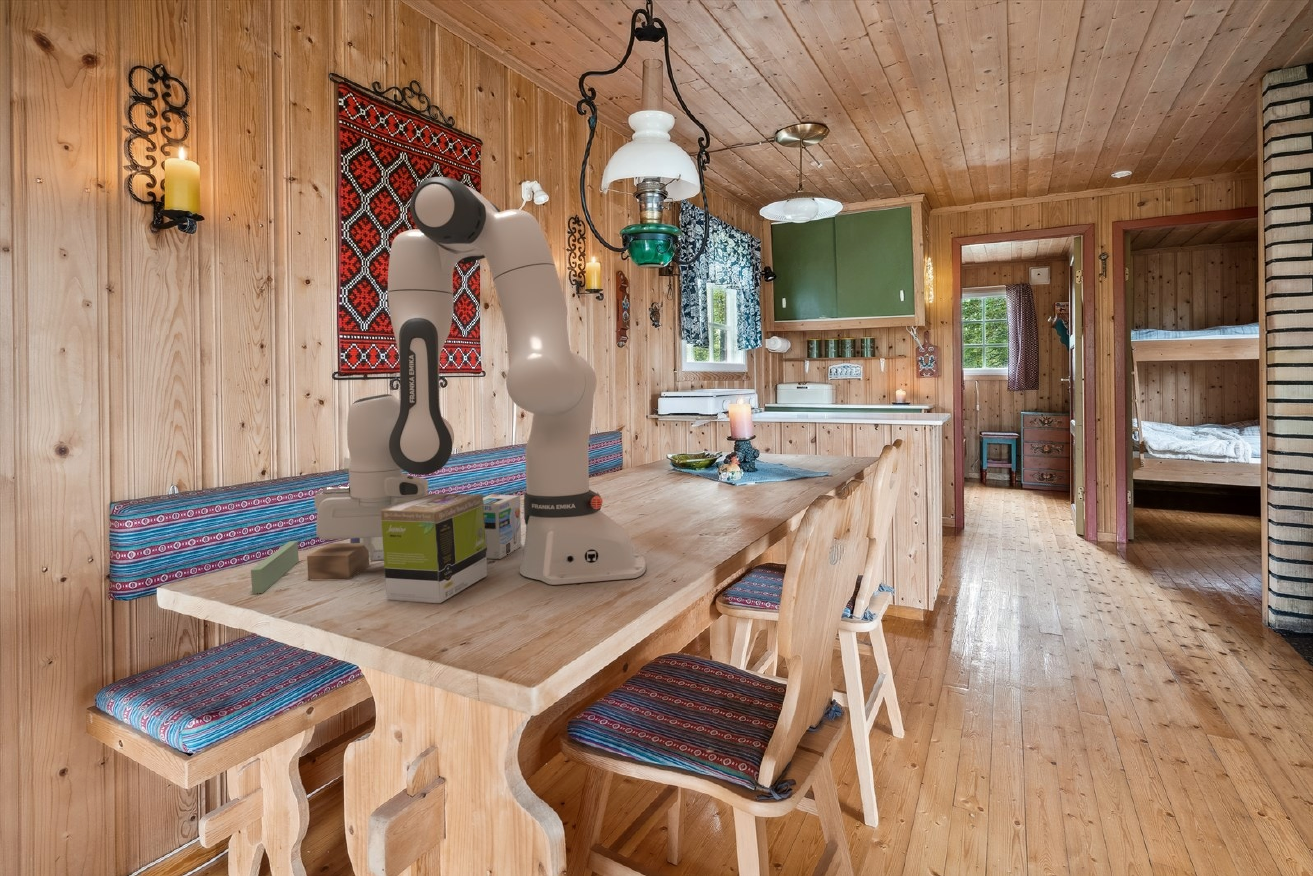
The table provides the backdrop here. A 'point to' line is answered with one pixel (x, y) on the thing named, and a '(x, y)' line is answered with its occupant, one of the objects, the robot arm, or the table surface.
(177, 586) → the table surface
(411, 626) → the table surface
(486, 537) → the light bulb box
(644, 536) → the table surface
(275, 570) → the green board
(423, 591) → the tea box
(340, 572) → the walnut block
